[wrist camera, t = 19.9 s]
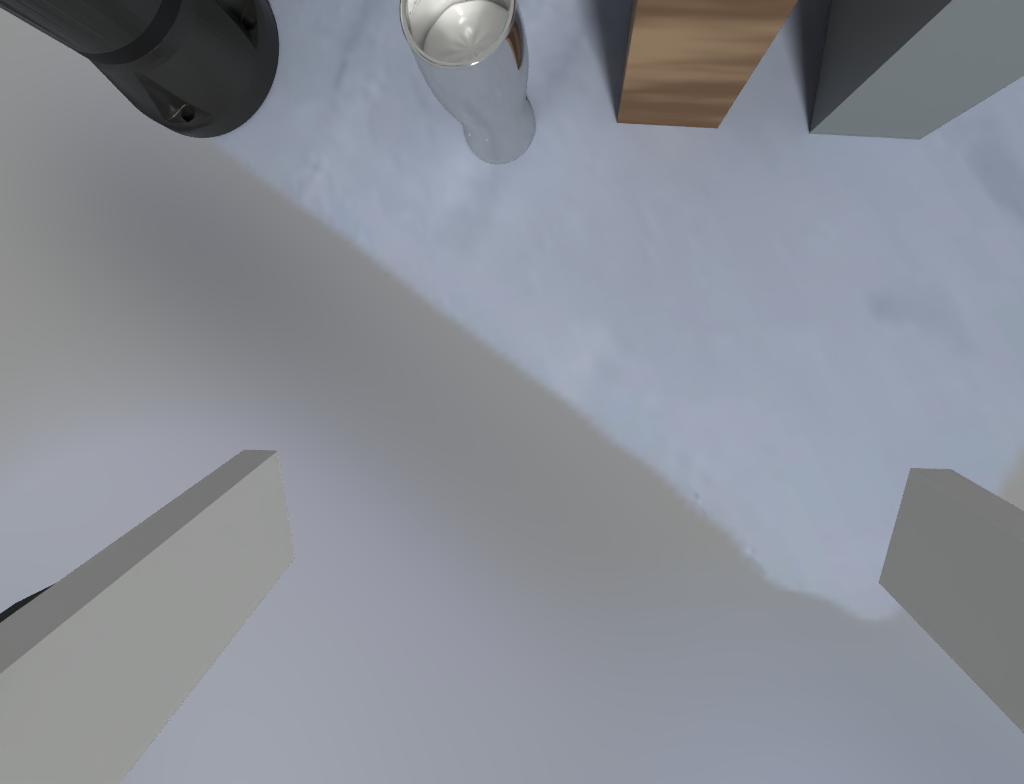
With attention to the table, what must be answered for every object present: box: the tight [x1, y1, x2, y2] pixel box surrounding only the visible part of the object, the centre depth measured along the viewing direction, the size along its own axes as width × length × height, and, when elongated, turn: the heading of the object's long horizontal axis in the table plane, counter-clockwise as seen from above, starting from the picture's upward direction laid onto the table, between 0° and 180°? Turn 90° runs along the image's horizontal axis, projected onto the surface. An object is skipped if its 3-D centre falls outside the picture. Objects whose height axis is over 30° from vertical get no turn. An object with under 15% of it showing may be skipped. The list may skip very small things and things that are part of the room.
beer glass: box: [400, 0, 535, 164], centre depth 34 cm, size 7×7×15 cm
